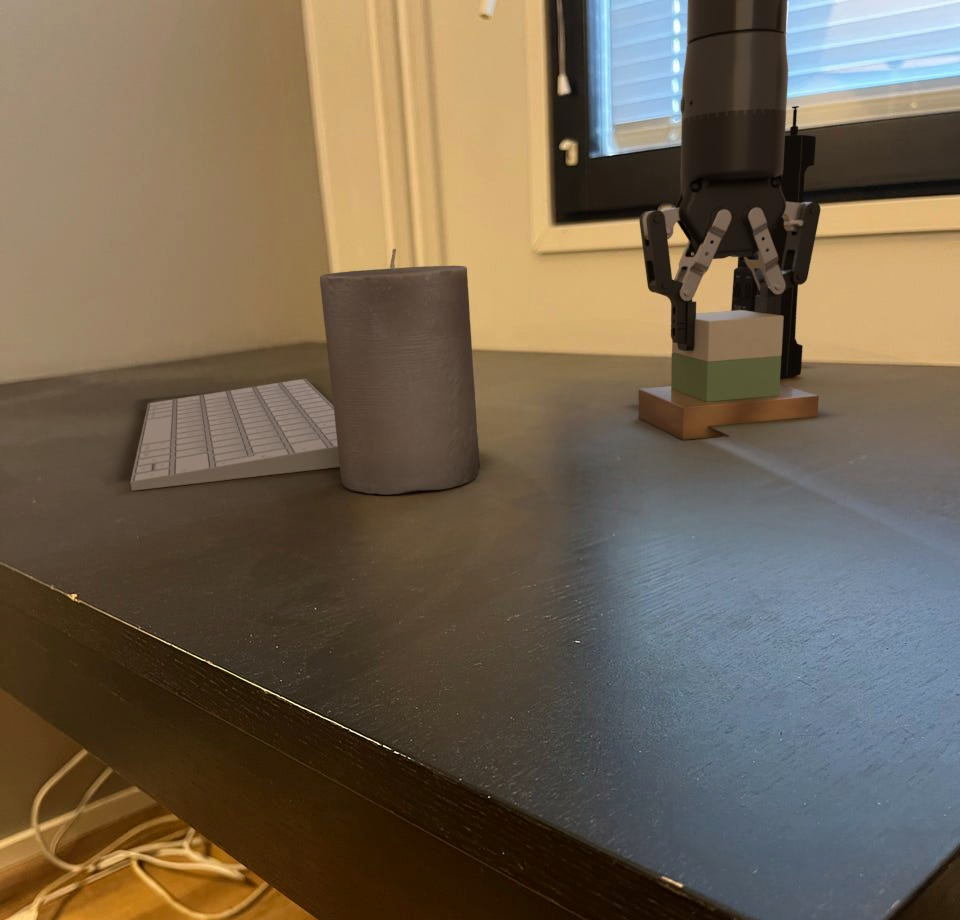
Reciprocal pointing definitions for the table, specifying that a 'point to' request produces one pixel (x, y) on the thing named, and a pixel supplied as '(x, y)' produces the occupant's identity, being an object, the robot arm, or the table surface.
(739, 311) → the beige block
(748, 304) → the portable radio
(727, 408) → the brown l-shaped block
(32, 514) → the table surface
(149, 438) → the computer keyboard
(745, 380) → the green pad
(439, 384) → the pillar candle
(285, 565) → the table surface
